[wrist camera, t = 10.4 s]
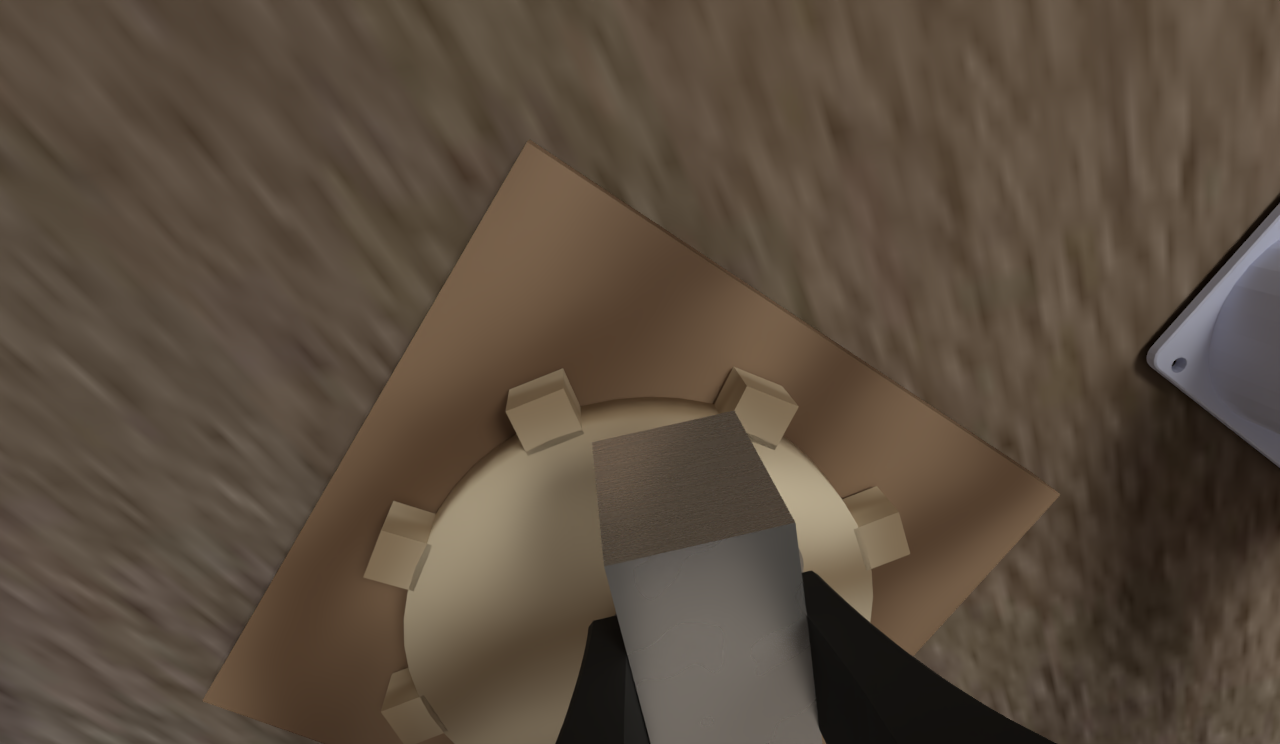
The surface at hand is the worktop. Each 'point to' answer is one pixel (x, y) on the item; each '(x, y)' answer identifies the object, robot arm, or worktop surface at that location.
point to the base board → (597, 371)
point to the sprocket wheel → (571, 557)
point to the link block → (706, 585)
